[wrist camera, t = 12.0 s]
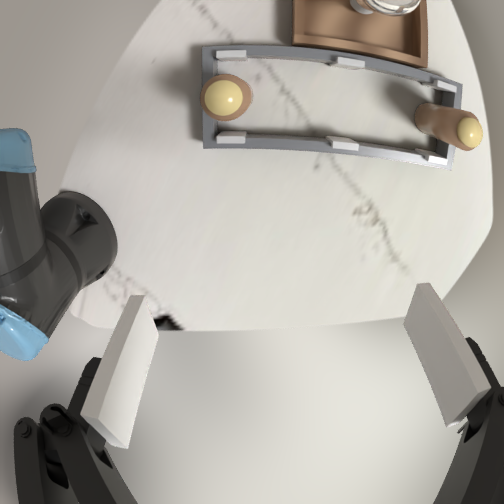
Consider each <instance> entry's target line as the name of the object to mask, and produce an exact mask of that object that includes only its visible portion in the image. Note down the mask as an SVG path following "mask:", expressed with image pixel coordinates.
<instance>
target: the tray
mask: <svg viewBox="0 0 504 504" xmlns="http://www.w3.org/2000/svg"><path fill="white" fill-rule="evenodd" d="M292 46H295V47H306V48H316V49H325V50H332V51H339V52H346V53H352V54H357V55H363V56H368V57H373V58H377V59H382V60H386V61H390V62H395V63H398V64H402V65H406V66H410V67H413V68H427V66H428V23H427V4H426V0H421V1H420V3H419V5H418V6H417V7H416V9H415V10H413V11H412V12H410V13H409V14H407V15H403V16H399V17H389V16H383V15H379V14H377V13H374V12H373V13H371V14H362V13H359V12H358V11H356V10H355V9H354V8H353V7H352V6H351V4H350V0H292Z"/></svg>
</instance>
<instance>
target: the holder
mask: <svg viewBox="0 0 504 504" xmlns="http://www.w3.org/2000/svg"><path fill="white" fill-rule="evenodd" d="M248 58H266V59H288V60H301V61H312V62H321V63H329V64H330V66H332V67H339V68H346V69H352V70H356V69H367V70H372V71H377V72H382V73H387V74H391V75H395V76H399V77H403V78H407V79H411V80H415V81H418V82H422V85H424V86H427V87H430V88H434V89H437V90H440V91H443V95H442V106H446V107H451V108H455V109H460V110H461V99H462V85H463V84H460V83H457V82H455V81H452V80H449V79H447V78H444V77H441V76H438V75H435V74H432V73H429V72H425V71H422V70H419V69H415V68H412V67H408V66H405V65H401V64H397V63H393V62H389V61H384V60H380V59H375V58H371V57H366V56H360V55H355V54H349V53H343V52H336V51H329V50H321V49H312V48H302V47H289V46H269V45H226V46H206V47H202V88H203V86H204V85H205V83H206V82H207V81H208V80H210V79H211V78H213V77H215V76H217V59H219V60H220V61H248ZM202 118H203V149H209V148H247V149H280V150H299V151H314V152H327V153H338V154H348V155H357V156H366V157H374V158H381V159H388V160H395V161H402V162H408V163H414V164H420V165H426V166H431V167H436V168H442V169H446V170H452V165H453V160H454V154H455V148H456V147H455V146H453V145H451V144H449V143H446V142H444V141H441V140H439V139H438V140H437V147H436V153H435V152H432V151H427V150H423V149H417V148H415V150H409V149H403V148H398V147H391V146H385V145H378V144H371V143H364V142H356V141H353V140H352V139H350V138H345V137H336V136H326V138H317V137H303V136H287V135H262V134H247V131H222V132H221V133H220V134H218V129H217V120H215V119H213V118H211V117H210V116H208V115H207V114H206V113H205V111H204V110H203V108H202Z"/></svg>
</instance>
